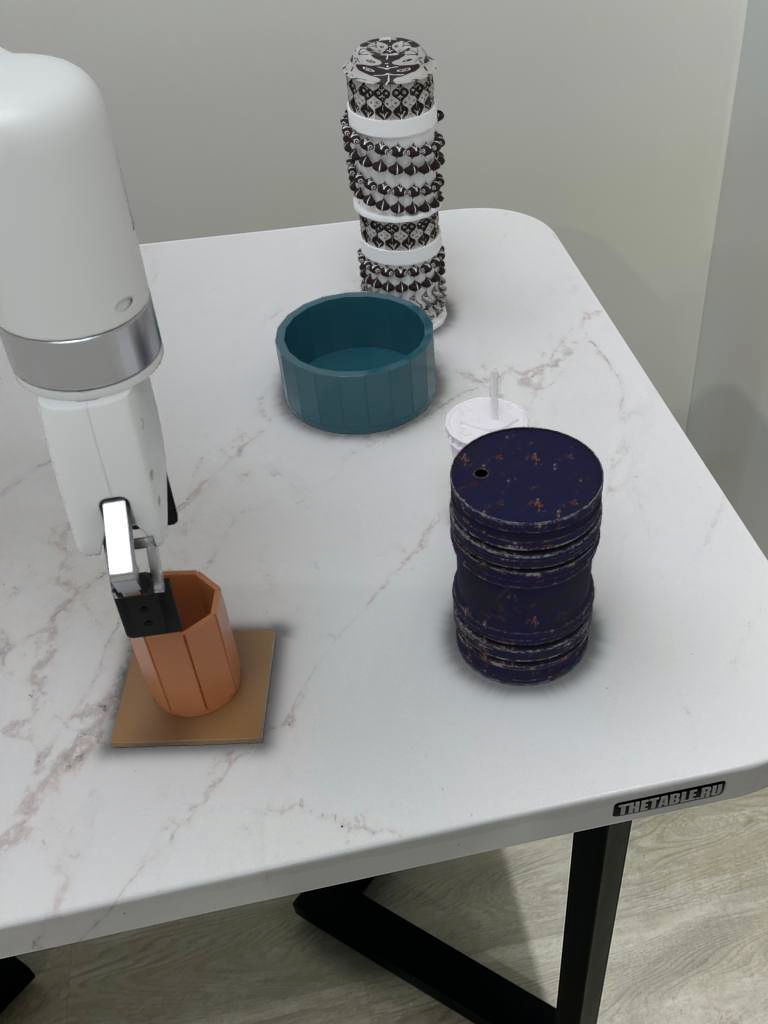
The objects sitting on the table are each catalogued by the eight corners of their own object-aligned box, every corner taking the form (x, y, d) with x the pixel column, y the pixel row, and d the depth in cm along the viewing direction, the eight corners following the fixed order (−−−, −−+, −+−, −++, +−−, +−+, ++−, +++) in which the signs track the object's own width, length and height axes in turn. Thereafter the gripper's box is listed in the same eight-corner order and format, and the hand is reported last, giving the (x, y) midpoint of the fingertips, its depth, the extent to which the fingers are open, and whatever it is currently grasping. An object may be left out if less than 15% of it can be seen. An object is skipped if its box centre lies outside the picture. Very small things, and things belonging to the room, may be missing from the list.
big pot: (278, 436, 93) (268, 378, 89) (292, 350, 103) (283, 293, 98) (436, 432, 93) (433, 373, 89) (435, 346, 103) (432, 289, 98)
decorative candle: (365, 291, 110) (340, 27, 92) (453, 292, 110) (445, 28, 91) (354, 338, 104) (325, 66, 85) (447, 339, 104) (438, 66, 85)
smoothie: (527, 545, 83) (533, 395, 73) (447, 545, 83) (441, 396, 73) (525, 493, 87) (529, 345, 77) (448, 494, 87) (442, 345, 77)
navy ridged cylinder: (585, 587, 80) (600, 425, 69) (595, 686, 73) (613, 524, 62) (454, 588, 80) (448, 426, 69) (452, 687, 73) (445, 525, 62)
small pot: (146, 718, 71) (115, 638, 65) (161, 652, 75) (133, 571, 69) (235, 715, 71) (212, 635, 65) (245, 650, 75) (224, 568, 69)
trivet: (111, 748, 70) (109, 743, 70) (139, 637, 77) (137, 633, 76) (262, 742, 70) (260, 738, 70) (276, 633, 77) (275, 628, 76)
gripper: (17, 256, 58) (96, 494, 71) (-12, 446, 47) (88, 689, 59) (156, 244, 59) (209, 481, 72) (160, 427, 48) (222, 669, 61)
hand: (154, 575), depth 66 cm, fingers open, 9 cm apart
